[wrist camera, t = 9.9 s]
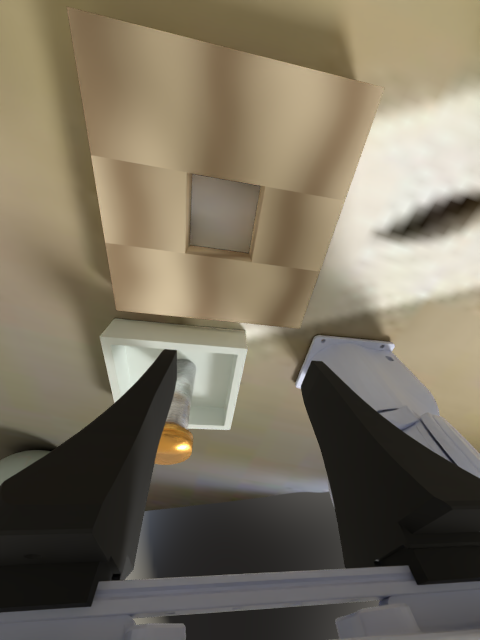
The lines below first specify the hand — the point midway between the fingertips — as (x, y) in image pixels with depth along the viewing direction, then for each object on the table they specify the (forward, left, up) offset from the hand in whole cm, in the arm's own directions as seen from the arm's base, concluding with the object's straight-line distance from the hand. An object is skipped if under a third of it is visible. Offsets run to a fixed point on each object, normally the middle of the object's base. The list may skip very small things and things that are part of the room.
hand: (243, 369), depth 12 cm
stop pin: (+5, +10, -10) cm, 15 cm away
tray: (+5, +11, -10) cm, 16 cm away
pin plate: (+2, -6, -10) cm, 12 cm away
